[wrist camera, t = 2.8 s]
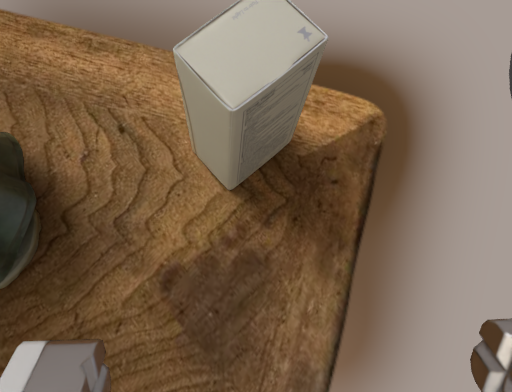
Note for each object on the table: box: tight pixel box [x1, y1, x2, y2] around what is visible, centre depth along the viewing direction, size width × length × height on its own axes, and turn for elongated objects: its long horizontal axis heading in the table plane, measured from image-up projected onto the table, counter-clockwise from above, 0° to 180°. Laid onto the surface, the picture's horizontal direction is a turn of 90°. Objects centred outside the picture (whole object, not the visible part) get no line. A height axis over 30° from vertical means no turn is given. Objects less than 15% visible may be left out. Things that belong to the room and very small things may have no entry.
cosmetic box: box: [173, 0, 328, 190], centre depth 25 cm, size 6×4×12 cm
